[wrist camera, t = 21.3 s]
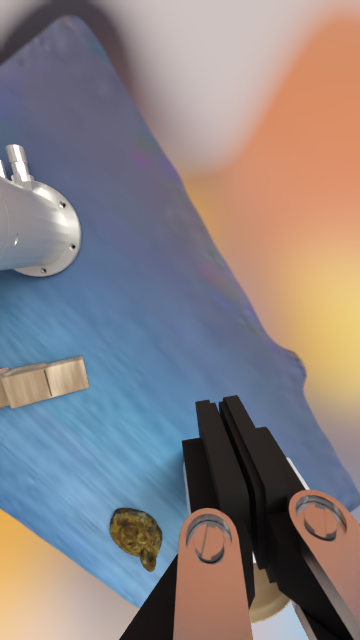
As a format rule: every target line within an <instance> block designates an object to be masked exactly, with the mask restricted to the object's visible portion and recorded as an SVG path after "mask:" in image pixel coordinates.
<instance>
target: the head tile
mask: <svg viewBox="0 0 360 640" xmlns="http://www.w3.org/2000/svg"><path fill="white" fill-rule="evenodd" d="M1 379H2V382H3V385H4V388H5V391H6V394H7V397H8V400H9V403H10V406H11V409H13V408H16V407H20V406H24V405H27V404H31V403H34V402H38V401H42V400H45V399H49V398H53V397H56V396H60V395H64V394H67V393H71V392H74V391H78V390H82V389H85V388H89V382H88V378H87V374H86V369H85V365H84V360H83V356H78V357H73V358H69V359H65V360H60V361H56V362H52V363H47V364H43V365H39V366H34V367H30V368H26V369H21V370H17V371H13V372H8V373H4V375H3V377H2V378H1Z"/></svg>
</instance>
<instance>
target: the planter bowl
mask: <svg viewBox="0 0 360 640" xmlns="http://www.w3.org/2000/svg"><path fill="white" fill-rule="evenodd" d="M253 566H254V584H255V597H254V600H253V602H252V605H251V607H250V610H249V615H250V622H251V623H256V622H260V621H264V620H266V619H269V618H271V617H273V616H275V615H276V614H278V613H279V612H280V611H282V610H283V609H284V608H285V607H286V606H287V605H288V604H289V603H290V601H291V599H290V598H288V597H287V596H286V595H284V594H283V593H282V592H280V591H279V589H278V586H277V583H276V582H275V583H269V580H268V577H267V574H266V571H265V569H262V570H259V569H258V566H257V564H256V563H253Z"/></svg>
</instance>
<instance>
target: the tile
mask: <svg viewBox="0 0 360 640" xmlns="http://www.w3.org/2000/svg"><path fill="white" fill-rule="evenodd" d="M43 364H46V363H45V362H40V363H36V364H31V365H27V366H23V367H18V368H14V369H10V370H5V371H1V372H0V408H1V407H5V406H8V405H10V403H9V400H8V397H7V394H6V391H5V388H4V385H3V382H2V379H1V378H2V377H3V375H4V373H8V372H13V371H17V370H21V369H26V368H30V367H34V366H39V365H43Z"/></svg>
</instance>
